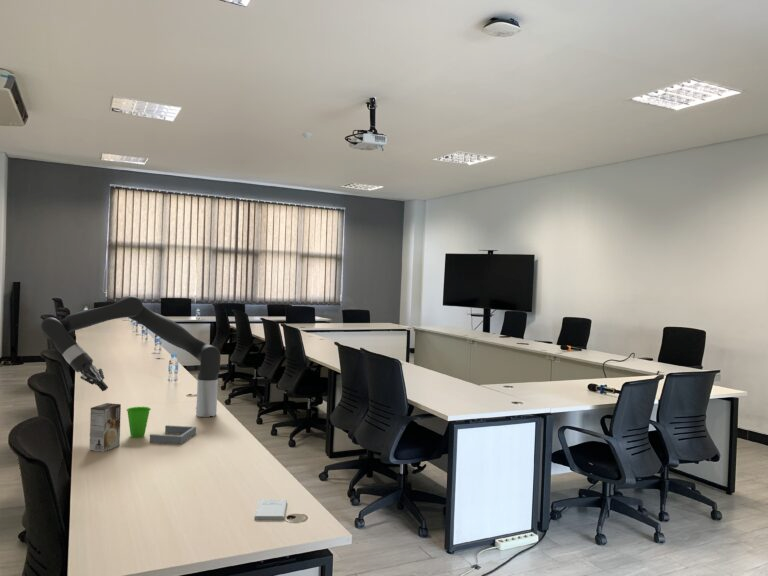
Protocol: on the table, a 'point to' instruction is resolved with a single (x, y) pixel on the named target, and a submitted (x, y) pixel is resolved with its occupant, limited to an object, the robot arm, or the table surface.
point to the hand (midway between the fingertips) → (105, 389)
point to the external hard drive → (271, 510)
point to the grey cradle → (173, 439)
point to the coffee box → (105, 427)
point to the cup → (138, 420)
